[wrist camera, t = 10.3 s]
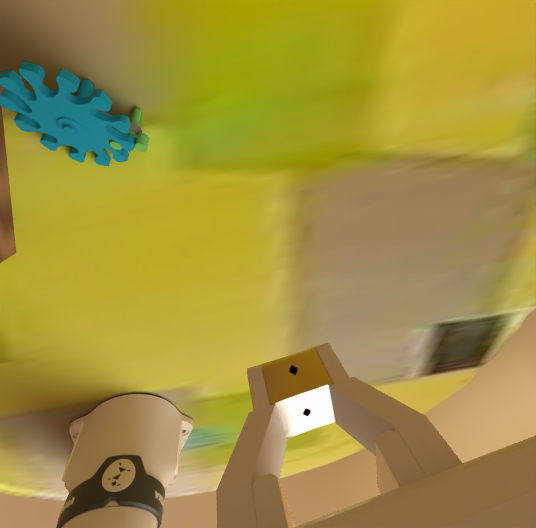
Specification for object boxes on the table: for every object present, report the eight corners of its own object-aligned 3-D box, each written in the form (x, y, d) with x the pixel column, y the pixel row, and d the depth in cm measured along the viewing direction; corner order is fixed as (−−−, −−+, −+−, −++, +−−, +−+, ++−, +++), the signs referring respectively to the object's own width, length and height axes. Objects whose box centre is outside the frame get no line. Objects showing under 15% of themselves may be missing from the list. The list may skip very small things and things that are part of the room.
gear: (11, 146, 26) (-31, 46, 18) (33, 100, 28) (3, -8, 20) (139, 185, 31) (152, 121, 23) (149, 143, 33) (164, 71, 25)
